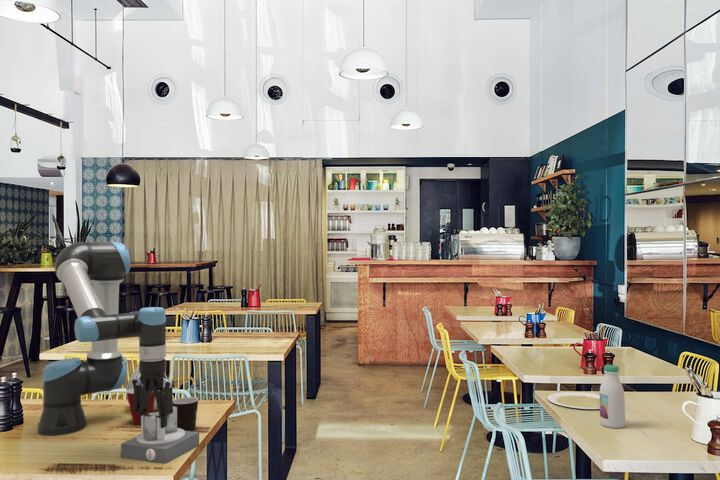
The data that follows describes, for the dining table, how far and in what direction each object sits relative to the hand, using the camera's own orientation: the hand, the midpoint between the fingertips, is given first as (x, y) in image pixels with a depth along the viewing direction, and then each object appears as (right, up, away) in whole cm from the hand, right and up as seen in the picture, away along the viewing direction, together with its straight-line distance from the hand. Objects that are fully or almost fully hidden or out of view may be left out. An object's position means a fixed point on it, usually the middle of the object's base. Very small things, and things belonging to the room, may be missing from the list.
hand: (153, 437), depth 171 cm
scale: (+1, -5, +3) cm, 6 cm away
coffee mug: (+3, -6, +25) cm, 26 cm away
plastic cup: (-16, -6, +33) cm, 37 cm away
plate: (+148, -5, +52) cm, 157 cm away
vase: (-20, -7, +50) cm, 55 cm away
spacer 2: (+2, 0, +7) cm, 7 cm away
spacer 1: (0, 0, 0) cm, 0 cm away
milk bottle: (+147, -4, +22) cm, 149 cm away
